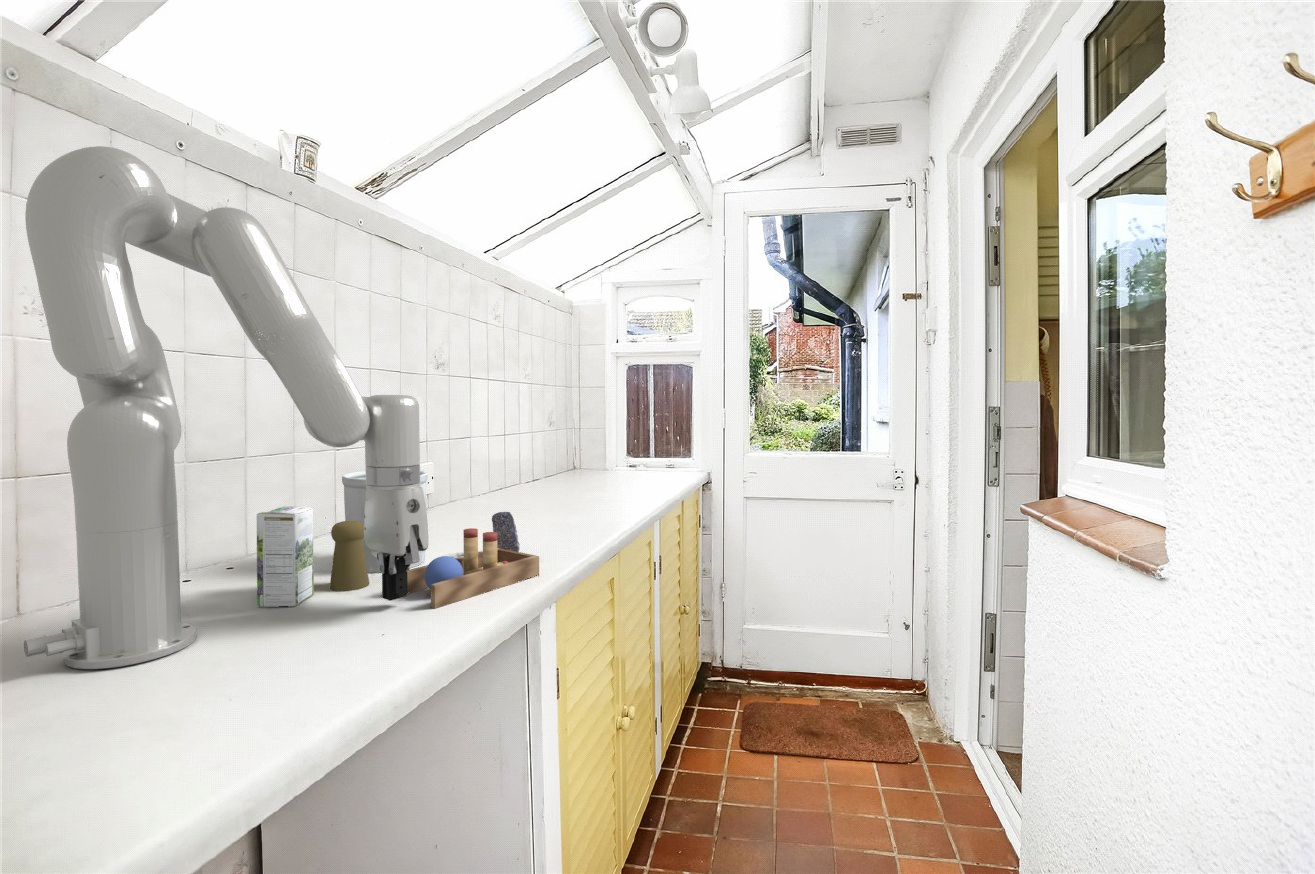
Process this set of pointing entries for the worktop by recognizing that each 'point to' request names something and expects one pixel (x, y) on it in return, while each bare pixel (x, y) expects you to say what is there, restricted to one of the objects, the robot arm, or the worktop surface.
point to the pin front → (482, 568)
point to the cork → (348, 557)
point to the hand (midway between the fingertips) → (395, 597)
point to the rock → (505, 531)
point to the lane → (476, 577)
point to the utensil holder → (356, 508)
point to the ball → (442, 570)
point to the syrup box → (284, 556)
